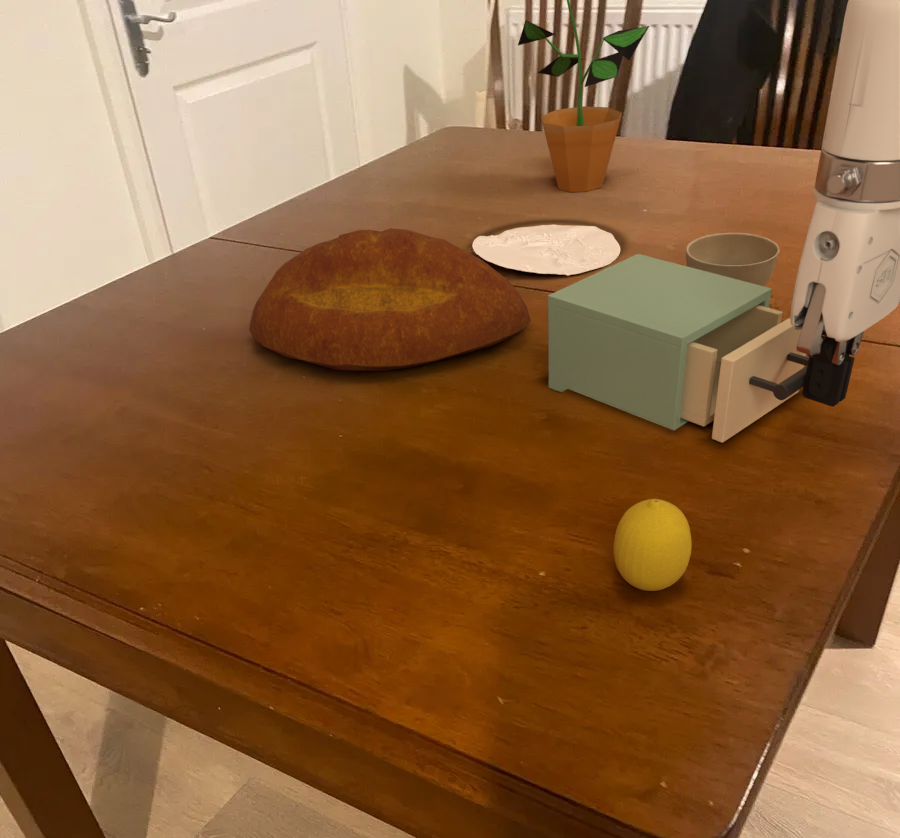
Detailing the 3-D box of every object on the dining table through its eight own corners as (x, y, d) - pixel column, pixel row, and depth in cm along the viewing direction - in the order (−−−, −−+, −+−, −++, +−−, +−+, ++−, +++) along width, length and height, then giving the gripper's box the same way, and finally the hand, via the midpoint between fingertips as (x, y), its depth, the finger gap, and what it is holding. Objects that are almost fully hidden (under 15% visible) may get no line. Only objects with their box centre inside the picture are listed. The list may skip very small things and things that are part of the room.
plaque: (452, 272, 121) (452, 261, 120) (496, 224, 135) (496, 214, 134) (603, 288, 116) (604, 276, 115) (631, 237, 130) (632, 226, 129)
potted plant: (509, 178, 153) (502, -40, 134) (617, 163, 154) (625, -54, 135) (536, 209, 139) (532, -28, 120) (654, 193, 141) (669, -44, 122)
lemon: (630, 620, 67) (635, 530, 61) (600, 575, 71) (603, 488, 66) (699, 602, 67) (711, 513, 62) (666, 560, 72) (674, 472, 67)
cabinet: (757, 383, 92) (772, 288, 86) (673, 437, 86) (682, 338, 79) (633, 342, 102) (638, 253, 95) (548, 387, 95) (547, 295, 89)
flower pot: (665, 303, 109) (670, 242, 104) (740, 287, 111) (748, 227, 106) (707, 335, 102) (715, 270, 97) (787, 317, 103) (798, 254, 99)
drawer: (836, 404, 86) (854, 323, 81) (760, 458, 80) (774, 374, 75) (675, 350, 97) (681, 277, 92) (597, 394, 91) (599, 318, 86)
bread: (285, 305, 118) (265, 204, 110) (539, 304, 112) (538, 198, 104) (226, 381, 102) (198, 270, 94) (518, 385, 96) (515, 267, 88)
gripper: (867, 211, 62) (816, 447, 74) (967, 157, 69) (906, 380, 81) (769, 192, 66) (736, 417, 78) (872, 144, 74) (828, 357, 86)
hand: (823, 398), depth 80 cm, fingers closed
